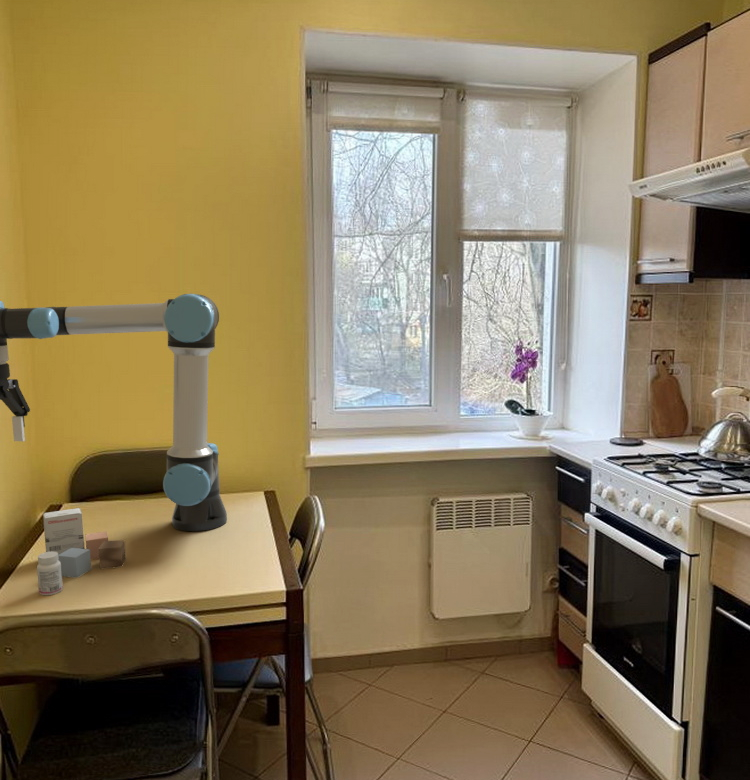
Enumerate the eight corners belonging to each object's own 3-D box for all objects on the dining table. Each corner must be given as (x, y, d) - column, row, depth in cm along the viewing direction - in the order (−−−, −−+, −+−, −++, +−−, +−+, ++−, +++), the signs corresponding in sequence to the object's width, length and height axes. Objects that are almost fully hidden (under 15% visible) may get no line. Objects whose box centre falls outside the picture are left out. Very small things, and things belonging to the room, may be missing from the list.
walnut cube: (125, 559, 165) (124, 539, 164) (122, 567, 160) (120, 547, 159) (104, 560, 164) (102, 541, 163) (99, 569, 159) (98, 548, 158)
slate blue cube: (91, 569, 159) (89, 549, 158) (77, 578, 154) (75, 557, 153) (73, 567, 160) (71, 547, 159) (58, 576, 155) (57, 555, 154)
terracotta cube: (107, 549, 171) (106, 531, 170) (109, 556, 167) (108, 537, 166) (86, 553, 169) (85, 534, 168) (87, 560, 164) (86, 540, 164)
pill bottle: (44, 587, 149) (41, 550, 148) (66, 586, 149) (63, 550, 148) (35, 596, 144) (32, 559, 143) (58, 595, 145) (55, 558, 144)
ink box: (83, 551, 170) (80, 507, 168) (85, 558, 165) (82, 512, 164) (46, 557, 166) (42, 512, 164) (47, 564, 161) (43, 518, 160)
